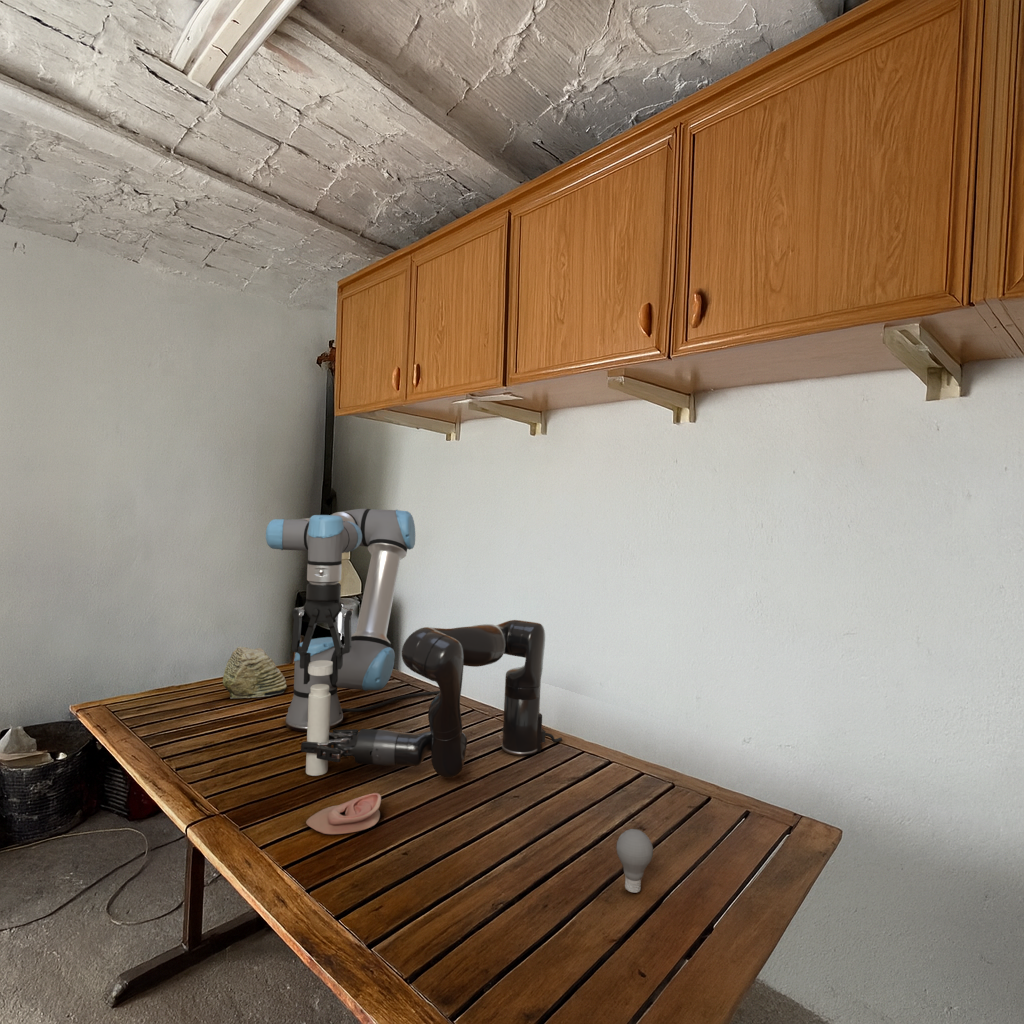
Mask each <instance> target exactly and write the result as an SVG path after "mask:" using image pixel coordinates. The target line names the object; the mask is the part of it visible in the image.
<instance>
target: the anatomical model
mask: <svg viewBox="0 0 1024 1024" xmlns="http://www.w3.org/2000/svg"><path fill="white" fill-rule="evenodd" d="M381 803H382V796H381V794H380V793H379V792H373V793H368V794H364V795H362V796H358V797H356V798H353V799H351V800H348V801H346V802H343V803H340V804H338V805H332V806H328V807H325V808H323V809H321V810H319V811H317V812H315V813H313V814H312V815H311V816H310V817H308V818H307V819H306V821H305V824H306V825H307V826H308V827H309V828H311V829H312V830H314V831H316V832H319V833H321V834H323V835H343V834H351V833H356V832H362V831H365V830H367V829H369V828H370V829H371V828H372V827H374V826H375V825H376V824H377V823H379V821H380V818H381V812H380V810H379V809H380V807H381Z"/></svg>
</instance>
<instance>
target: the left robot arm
mask: <svg viewBox="0 0 1024 1024" xmlns="http://www.w3.org/2000/svg"><path fill="white" fill-rule="evenodd" d="M265 530H266V531H265V542H266V544H267V545H268V546H269V548H270V549H273V550H281V551H302V552H305V551H307V569H306V580H307V581H308V583H307V584H306V596H305V597H306V599H305V603H304V605H303V606H300V607H299V606H298V607H297V606H296V607H294V608H293V609H292V610H291V614H292V618H293V628H292V639H291V640H292V641H291V652H293V653H295V654H294V659H293V661H294V670H293V671H294V672H293V695H292V696H293V697H292V699H291V702H290V704H289V707H288V709H287V713H286V715H285V726H286V728H287V729H289V730H291V731H294V732H295V731H296V732H301V733H307V724H308V698H309V694H310V693H311V689H310V688H311V686H312V685H315V684H327V685H329V693H330V694H331V698H330V724H329V730H332V729H333V730H334V729H335V728H337V727H339V726H340V725H342V723H343V722H344V714H343V712H344V713H346V712H347V713H348V712H349V713H358V712H359V713H360V712H366V711H369V710H373V709H377V708H380V707H382V706H386V705H388V704H392V703H393V702H396V701H399V700H400V701H401V700H403V699H409V698H415V697H421V696H422V697H423V696H431V695H438V694H439V693H440V690H433V691H423V692H416V693H411V694H410V693H409V694H405V695H400V696H396V697H392V698H390V699H388V700H385V701H383V702H380V703H376V704H373V705H369V706H366V707H360V708H347V707H346V708H344V707H343V708H342V706H341V702H340V699H339V695H338V689H350V690H360V691H361V690H362V691H366V692H368V691H380V690H382V689H384V688H385V687H386V686H387V684H388V683H389V681H390V680H391V679H390V678H391V677H392V674H393V671H394V666H395V658H396V654H395V651H394V648H392V647H391V641H390V640H389V639H388V637H387V635H388V629H389V623H390V618H391V612H392V608H393V607H392V606H393V601H394V596H395V590H396V585H397V580H398V574H399V568H400V563H401V560H402V559H405V557H407V554H408V550H413V549H414V548H415V546H416V525H415V520H414V517H413V515H412V514H411V512H409V511H408V510H400V509H377V508H355V509H350V510H349V509H348V510H344V511H337V512H334V513H332V514H330V515H329V514H314V515H311V516H310V517H307V518H295V519H294V518H293V519H288V518H287V519H285V518H274V519H271V520H270V521H269V522H268V523H267V526H266V529H265ZM358 547H365V548H367V551H368V552H369V554H370V561H369V565H368V570H367V574H366V581H365V585H364V590H363V596H362V600H361V605H360V610H359V615H358V619H357V625H356V629H355V632H354V633H353V634H352V618H353V614H354V612H355V611H354V609H353V608H346V607H344V606H343V604H342V602H341V596H342V595H341V591H342V585H341V583H340V582H341V581H342V567H343V566H342V565H343V564H342V561H343V554H345V553H346V554H347V553H350V552H352V551H354V550H356V549H358ZM305 613H306V615H307V616H308V618H309V621H308V626H307V629H306V632H305V635H304V637H303V640H302V642H301V635H302V622H303V616H304V614H305ZM340 613H341V614H342V615H341V616H342V618H343V643H342V639H341V636H340V632H339V628H338V622H337V618H338V616H339V614H340ZM317 624H325V625H327V627H328V628H329V632H330V635H331V636H325V637H317V638H313V635H314V632H315V629H316V627H317ZM319 660H327V661H332V662H333V669H332V674H330V675H326V676H313V675H310V674H308V666H309V663H310V662H313V661H319Z"/></svg>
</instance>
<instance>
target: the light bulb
mask: <svg viewBox="0 0 1024 1024" xmlns="http://www.w3.org/2000/svg"><path fill="white" fill-rule="evenodd" d="M615 849H616V854H617V857H618V859H619V861H620V863H621V865H622V867H623V873H624V874H623V875H624V876H625V878H624V888H625V890H627V891H628V892H630V893H634V894H635V893H639V892H640V891H641V889H642V887H641V886H642V879H643V877H644V875H645V871H646V868H647V867H648V866H649V864H650V863H651V861H652V859H653V855H654V847H653V843H652V841H651V838H649V836H648V835H647V834H646V833H645V832H643V831H642V830H641V829H636V828H629V829H627V830H625V831H623V832H622V833H621V834H620V835H619V837H618V839H617V841H616V847H615Z"/></svg>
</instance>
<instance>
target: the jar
mask: <svg viewBox="0 0 1024 1024" xmlns="http://www.w3.org/2000/svg"><path fill="white" fill-rule="evenodd" d="M310 689H311V693H310V694H309V698H308V724H307V732H306V742H318V743H322V742H328V741H329V732H330V729H329V724H330V698H331V694H330V693H329V685H327V684H315V685H312V686H311V688H310ZM325 747H328V746H325ZM305 753H306V752H305ZM305 756H306V757H305V774H306V775H308V776H312V777H317V776H318V777H319V776H323V775H325V774H326V773H328V771H329V761H328V760H322V759H317V753H306V754H305Z"/></svg>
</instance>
